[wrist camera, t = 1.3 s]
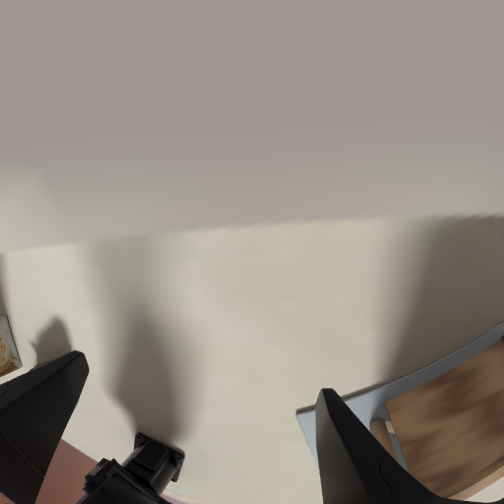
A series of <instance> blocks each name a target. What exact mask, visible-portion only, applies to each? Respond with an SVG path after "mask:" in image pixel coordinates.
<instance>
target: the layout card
mask: <svg viewBox="0 0 504 504" xmlns="http://www.w3.org/2000/svg"><path fill="white" fill-rule="evenodd" d="M503 335H504V321H503V322H501V323H500V324H498V325H497V326H495V327H494V328H492V329H491V330H489V331H488V332H486V333H485V334H483V335H482V336H480V337H478V338H477V339H475V340H473V341H472V342H470V343H468V344H467V345H465V346H463V347H461V348H460V349H458V350H456V351H454V352H453V353H451V354H449V355H447V356H445V357H443V358H441V359H439V360H438V361H436V362H434V363H432V364H430V365H428V366H426V367H423V368H421V369H419V370H417V371H415V372H413V373H411V374H408V375H406V376H404V377H402V378H399V379H397V380H395V381H392V382H390V383H388V384H385V385H383V386H380V387H377V388H375V389H372V390H370V391H367V392H364V393H362V394H359V395H356V396H353V397H350V398H347V399H344V400H343V401H344V402H345V403H346V404H347V406H348V407H349V408H350V409H351V410H352V411H353V413H354V414H355V415H356V416H357V417H358V418H359V419H360V421H361V422H362V423H363V424H364V425H365V426H366V428H367V429H368V430H369V431H370V429H369V425H370V423H371V422H372V421H374V420H376V419H383V420H384V421H385V423H386V426H387V429H388V432H389V435H390V438H391V441H392V444H393V447H394V450H395V454H396V457H397V460H398V463H399V464H400V465H401V466H402V467H403V468H404V469H405V470H406V471H407V472H408V469H407V466H406V463H405V460H404V457H403V454H402V452H401V449H400V446H399V443H398V440H397V437H396V435H395V432H394V429H393V426H392V424H391V421H390V418H389V416H388V413H387V411H386V406H385V402H384V401H386V400H389V399H391V398H394V397H396V396H399V395H401V394H403V393H405V392H408V391H410V390H412V389H414V388H417V387H419V386H421V385H423V384H425V383H427V382H429V381H431V380H433V379H435V378H437V377H439V376H441V375H443V374H445V373H447V372H449V371H450V370H452V369H454V368H456V367H458V366H459V365H461V364H463V363H465V362H466V361H468V360H470V359H471V358H473V357H475V356H476V355H478V354H480V353H481V352H483V351H484V350H486V349H487V348H489V347H490V346H492V345H493V344H495V343H496V342H498V341H499V340H501V338H502V336H503ZM296 418H297V420H298V422H299V425H300V427H301V429H302V432H303V434H304V436H305V438H306V441H307V443H308V445H309V447H310V450H311V452H312V454H313V456H314V459H315V461H316V463H317V465H318V467H319V464H318V456H317V449H316V416H315V409H311V410H308V411H304V412H300V413H296Z"/></svg>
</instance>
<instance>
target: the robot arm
mask: <svg viewBox="0 0 504 504" xmlns="http://www.w3.org/2000/svg"><path fill="white" fill-rule="evenodd" d="M88 374H89V366H88V363H87V360H86V357H85V355H84V353H82V352H80V351H76V350H74V351H72V352H70V353H68V354H66V355H63V356H61V357H59V358H57V359H55V360H53V361H51V362H49V363H46V364H44V365H42V366H40V367H38V368H36V369H34V370H31V371H29V372H27V373H25V374H23V375H21V376H18V377H16V378H14V379H12V380H10V381H7V382H5V383H3V384H1V385H0V504H9V501H10V500H11V501H13V502H14V503H15V504H35V502H36V499H37V496H38V494H39V491H40V488H41V485H42V483H43V480H44V477H45V475H46V472H47V470H48V467H49V465H50V462H51V460H52V457H53V455H54V452H55V450H56V448H57V446H58V443H59V441H60V439H61V437H62V434H63V432H64V430H65V428H66V426H67V424H68V421H69V419H70V417H71V415H72V413H73V411H74V409H75V407H76V405H77V403H78V400H79V398H80V395H81V392H82V389H83V387H84V384H85V381H86V379H87V376H88ZM315 416H316V449H317V456H318V464H319V471H320V479H321V487H322V495H323V503H324V504H504V498H503V499H501V500H499V501H496V502H491V503H482V502H471V501H463V500H455V499H449V498H444V497H441V496H438V495H436V494H435V493H433V492H432V491H430V490H429V489H428V488H426V487H425V486H424V485H423V484H422V483H420V482H419V481H418V480H417V479H416V478H414V477H413V476H412V475H411V474H410V473H409V472H407V471H406V470H405V469H404V468H403V467H402V466H401V465H400V464H399V463H398V462H397V461H396V460H395V459H394V458H393V457H392V456H391V455H390V453H389V452H388V451H386V449H385V448H384V447H383V446H382V445H381V443H380V442H379V441H378V440H377V439H376V438H375V437H374V436H373V434H372V433H371V432H370V431H369V430H368V429H367V428H366V426H365V425H364V424H363V423H362V422H361V421H360V419H359V418H358V417H357V416H356V415H355V414H354V413H353V411H352V410H351V409H350V408H349V407H348V406H347V404H346V403H345V402H344V401H343V400H342V399H341V397H340V396H339V395H338V394H337V393H336V391H335V390H334V389H332V388H322V389H321V390H320V393H319V396H318V399H317V402H316V406H315ZM184 458H185V457H184V456H183V455H182V454H180V453H178V452H176V451H174V450H172V449H169V448H167V447H165V446H163V445H161V444H160V443H158V442H156V441H154V440H152V439H150V438H148V437H146V436H145V435H143V434H141V433H137V434H136V435H135V444H134V451H133V452H132V453H131V455H130V456H129V457H128V458H127V459H126V460H125V461H124V462H123V463H122V464H121V465H120V464H119V463H118V462H117V461H116V460H115V459H114V458H113V459H112V460H111V461H109V460H107V459H105V458H103V459H102V460H101V461H100V462H99V463H98V464H97V465H96V466H95V467H94V468H93V469H92V470H91V471H90V472H89V473H88V474H87V475H86V476H85V484H84V485H85V486H84V487H83V488H82V490H83V491H84V492H85V493H86V494H85V495H84V496H83V497H82V498H81V499H80V500H79V501H78V502H77V503H76V504H172V503H170V502H168V501H166V500H165V499H163V498H162V497H161V496H160V495H161V494H162V492H163V491H164V489H165V488H166V486H167V485H168V483H169V482H170V480H171V481H173V482H177V480H178V477H179V474H180V471H181V468H182V465H183V462H184Z"/></svg>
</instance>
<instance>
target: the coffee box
mask: <svg viewBox="0 0 504 504" xmlns="http://www.w3.org/2000/svg"><path fill="white" fill-rule="evenodd" d="M20 368H22V364H21V361H20V359H19V356H18V353H17V350H16V347H15V344H14V341H13V338H12V334H11V331H10V328H9V324H8V320H7V317H6V316H2V317H0V377H2V376H4V375H6V374H9V373H11V372H13V371H15V370H17V369H20Z"/></svg>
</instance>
